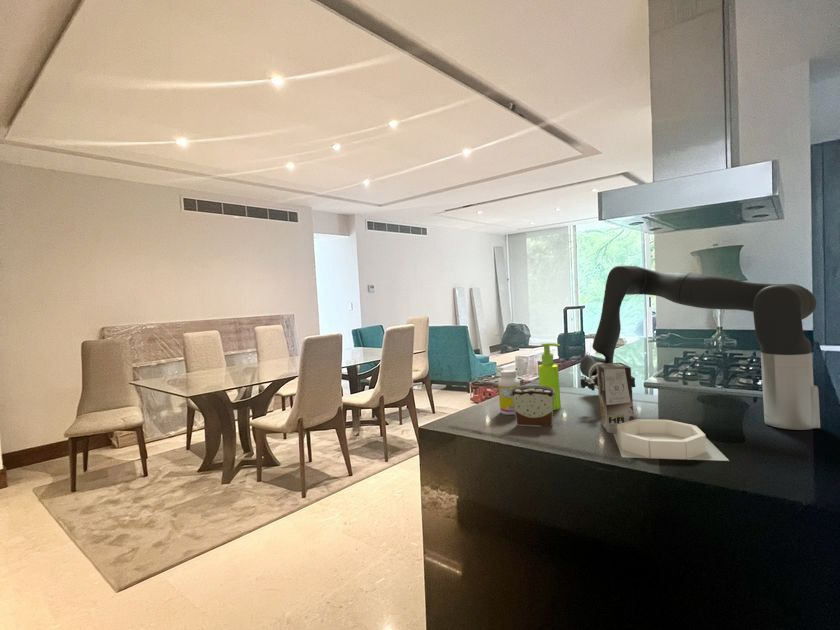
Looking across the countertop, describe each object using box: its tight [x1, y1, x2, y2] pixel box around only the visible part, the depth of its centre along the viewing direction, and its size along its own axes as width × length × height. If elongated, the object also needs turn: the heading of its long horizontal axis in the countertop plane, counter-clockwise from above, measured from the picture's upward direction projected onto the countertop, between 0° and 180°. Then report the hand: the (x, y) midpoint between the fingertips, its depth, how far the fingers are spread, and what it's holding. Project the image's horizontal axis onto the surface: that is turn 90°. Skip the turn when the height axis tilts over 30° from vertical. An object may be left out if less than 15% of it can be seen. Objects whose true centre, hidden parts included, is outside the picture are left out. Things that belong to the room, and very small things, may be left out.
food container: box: [510, 384, 556, 428], centre depth 120 cm, size 12×6×10 cm, turn 65°
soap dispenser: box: [537, 342, 562, 411], centre depth 134 cm, size 6×7×20 cm
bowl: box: [617, 418, 707, 460], centre depth 95 cm, size 16×16×4 cm
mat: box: [612, 433, 730, 462], centre depth 94 cm, size 19×16×1 cm
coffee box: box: [597, 362, 635, 434], centre depth 110 cm, size 9×6×16 cm
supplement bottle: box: [497, 369, 521, 416], centre depth 133 cm, size 7×7×13 cm
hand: (610, 386), depth 118 cm, fingers open, 8 cm apart
